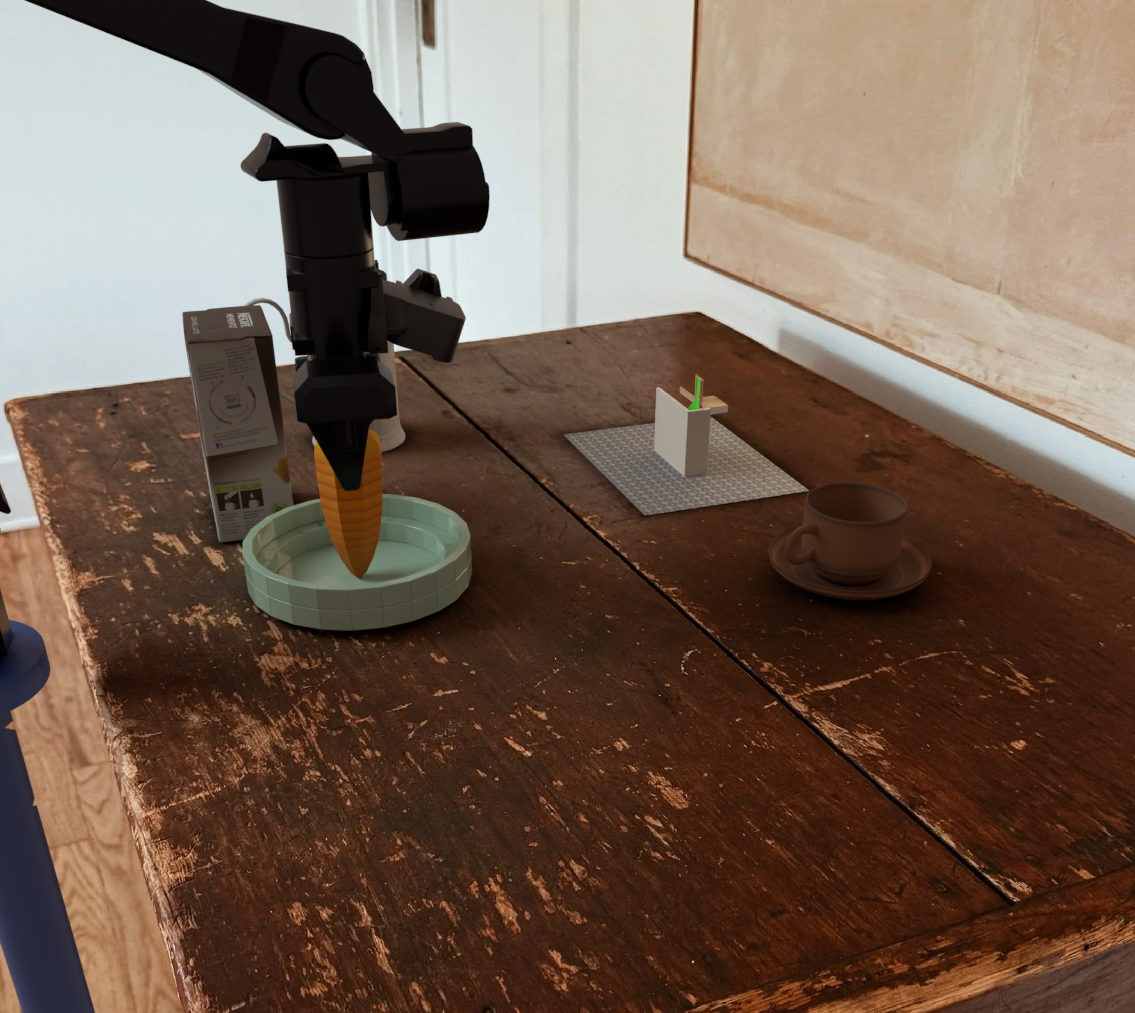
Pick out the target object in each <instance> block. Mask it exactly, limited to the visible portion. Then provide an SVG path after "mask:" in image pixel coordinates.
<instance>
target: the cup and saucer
mask: <svg viewBox="0 0 1135 1013" xmlns="http://www.w3.org/2000/svg"><path fill="white" fill-rule="evenodd" d="M908 509H909V505H908V502H907V501H906V499H905V498H904V497H903V496H901V495H900V494H899V493H897V492H895V491H893V490H891V489H888V488H885V487H883V486H879V485H875V484H871V483H864V482H855V481H853V482H851V481H849V482H848V481H847V482H844V481H843V482H841V481H840V482H832V483H826V484H821V485H819V486H816V487H814V488H812V489H811V490H809V491H808V493H807V494H806V496H805V501H804V512H803V521H802V524H799V525H795V526H792V527H790V528H787V529H785V530H783V531H781V532H780V533H778V534H776V536H774V537H773V538H772V539H771V541H770V543H769V544H768V557H769V561H770V563H771V565H772V567H773V568H774V570H775V571H776V572H777V573H778V574H779V575H780V576H781V577H783V578H784V580H786V581H787V582H789V583H791V584H792V585H794V586H796V587H797V588H800V589H802V590H804V591H806V592H809V593H812V594H815V595H819V596H822V597H827V598H832V599H837V600H844V601H845V600H846V601H877V600H882V599H889V598H893V597H897V596H900V595H902V594H905V593H907V592H910V591H911V590H913V589H915V588H916V587H918V586H919V585H921V584H922V583H924V581H925V580H926V579H927V578H928V576H929V574H930V572H931V568H932V567H933V566H932V565H933V560H932V558H931V555H930V553H929V551H928V550H927V549H926V548H925V547H924V546H923V545H922V544H921V543H920V542H918V541H916V540H915V539H913V538H911V537H910V536H908V535H906V534H904V531H905V527H906V522H907V514H908Z"/></svg>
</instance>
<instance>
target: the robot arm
mask: <svg viewBox="0 0 1135 1013" xmlns="http://www.w3.org/2000/svg"><path fill="white" fill-rule="evenodd" d="M24 2H27V3H30V4H32V5H35V6H38V7H40V8H42V9H45V10H48V11H49V12H52V13H55V14H58V15H60V16H62V17H65V18H67V19H70V20H73V21H75V22H78V23H80V24H83V25H86V26H88V27H91V28H93V29H96V30H98V31H101V32H103V33H106V34H107V35H111V36H113V37H115V38H118V39H120V40H123V41H126V42H128V43H131V44H133V45H136V46H139V47H141V48H143V49H146V50H149V51H151V52H154V53H156V54H158V55H161V56H164V57H166V58H169V59H171V60H174V61H176V62H178V63H181V64H184V65H186V66H189V67H191V68H194V69H196V70H198V71H199V72H200V73H202V74H204V75H206V76H207V77H209V78H210V79H212V80H213V81H215V82H217V83H218V84H220V85H221V86H222V87H224V88H226V89H228V90H229V91H231V93H232V92H233V94H235V95H237V96H239V97H240V98H242V99H243V100H244V101H246V102H248V103H249V104H251V105H253V106H255V107H256V108H258V109H260V110H261V111H262V112H265V114H268V115H270V116H271V117H273V118H274V119H276V120H277V121H280V122H282V123H283V124H284V125H285V124H286V125H287V126H290V127H292V128H294V129H297V130H299V131H301V132H303V133H305V134H307V135H310V136H312V137H314V138H317V139H321V140H327V141H334V140H342V141H344V142H347V143H348V144H351V145H354V146H356V147H358V148H361V149H363V150H366V151H368V152H370V153H371V154H365V155H356V156H355V155H354V156H338V154H337V152H336V151H335V149H334V148H333V147H332V145H330V144H329V143H327V142H321V143H307V144H294V145H284V144H283V143H282V141H281V140H280V139H279V138H278V137H276V136H275V135H272V134H270V133H268V132H263V133H261V136H260V138H259V140H258V143H257V145H256V146H255V148H254V149H252V150H251V151H250V152H249V154H248V155H246V157H245V158H244V159H243V160H242V161H241V162H240V170H241V171H242V172H243V173H244V174H247V175H248V176H250V177H251V178H253V179H255V180H257V181H258V182H261V183H262V182H264V183H265V182H274V181H275V182H276V190H277V198H278V205H279V206H278V207H279V217H280V225H281V234H282V244H283V254H284V262H285V276H286V284H287V286H286V287H287V292H288V299H289V308H290V313H289V315H288V316H289V319H288V320H289V328H290V334H291V340H292V343H291V347H292V348H291V349H292V351H294V356H295V358H294V368H295V369H294V370H295V373H294V374H293V375H292V378H293V380H292V381H293V394H294V400H295V404H296V406H295V414H296V422H299V423H301V424H305V425H307V427H308V429H309V431H310V432H311V434H312V437H313V436H314V438H315V439H316V441H317V443H318V444H319V446H320V448H321V450H322V452H323V453H324V455H325V457H326V459H327V460H328V462H329V464H330V466H331V468H332V469H333V471H334V473H335V475H336V477H337V478H338V480H339V482H340V484H341V486H342V488H343V489H344V490H345V491H354V490H359V489H360V484H361V478H362V471H363V464H364V457H365V451H366V444H367V438H368V432H369V426H370V424H371V423H372V422H373V421H374V420H377V419H390V418H392V417H394V416H397V403H396V388H395V383H394V380H393V376H392V372H391V370H390V369H389V368H388V367H387V366H386V365H384V364H383V363H382V362H381V359H380V355H379V353H388V341H389V342H391V343H393V344H394V346H399V347H400V348H401V347H402V348H404V349H408V350H410V351H414V352H418V353H421V354H425V355H428V356H431V357H432V359H433V360H434V361H437V362H440V363H444V364H451V363H452V362H454V361H453V360H454V357H455V355H456V351H457V348H458V345H459V342H460V338H461V335H462V332H463V329H464V325H465V322H466V319H467V316H466V314H465V313H464V310H463V308H462V307H461V305H460V304H459V303H458V302H456V301H454V299H453V297H451V296H446V297H444V296H442V288H441V283H440V279H439V277H438V275H437V274H435V273H433V272H430V271H426V270H424V269H421V268H416V269H415V270H414V271H413V272H412V273H411V274H410V275H409V276H408V277H407V278H406V279H405V281H404V282H402V281H400V280H397V279H396V280H395V282H393V281H390V280H388V279H387V280H383V278H382V273H381V271H380V272H379V269H380V268H379V267H380V265H379V261H378V259H375V248H374V233H373V221H372V220H373V219H374V222H375V223H376V224H377V225H378V226H379V227H383V228H384V227H386V228H387V230H388V233H389V234H390V235H391V236H392V238H393V239H394V240H395V241H396V242H402V241H403V242H405V241H413V240H423V239H431V238H440V237H441V238H442V237H450V236H451V237H452V236H460V235H469V234H478V233H479V234H480V232H481V231H483V229H484V227H485V226H486V224H487V221H488V217H489V213H490V212H489V211H490V199H491V198H490V197H491V196H490V185H489V183H488V182H487V181H486V177H485V176H486V174H485V172H484V168H483V163H482V161H481V158H480V155H479V153H478V151H477V150H476V148H475V146H474V136H473V128H472V126H470V125H469V124H466V123H463V122H459V121H451V122H450V121H449V122H442V123H439V124H436V125H433V126H428V127H427V126H426V127H414V128H413V127H412V128H401V126H400V125H399V124H398V122H397V120H395V118H394V117H393V116H392V115H391V113H390V111H389V110H388V109H387V108H386V106H385V105H384V104H383V102H382V101H381V99H380V98H379V96H378V95H377V94H376V93H375V91H374V81H373V80H374V79H373V74H372V73H373V72H372V70H371V68H370V65H369V62H368V61H367V58H366V54H365V53H364V51H363V50H362V48H360V46H359V45H358V44H357V43H355V42H354V41H352V40H350V39H349V38H348V37H346V36H344V35H343V34H339V33H336V32H333V31H328V30H323V29H320V28H316V27H312V26H308V25H304V24H300V23H296V22H295V23H294V22H290V21H286V20H281V19H277V18H273V17H269V16H264V15H260V14H256V13H250V12H246V11H241V10H237V9H232V8H228V7H223V6H221V5H219V4H217V3H214V2H212V1H209V0H24ZM372 217H373V218H372ZM365 352H369V353H365ZM0 513H3V514H6V515H9V514H11V513H12V509H11V507H10V504H9V502H8V499H7V497H6V494H5V491H4V490H3V486H2V484H1V483H0ZM1 530H2V529H0V534H1V532H2V531H1ZM6 608H7V607H6V605H5V600H4V597H3V593H2V588H0V667H1V664H2V661H3V658H4V657H5V656H6V655H7V654H8V651H9V648H10V645H11V642H12V639H13V634H12V630H11V626H10V622H9V620H10V619H9V615H8V611H7V609H6Z"/></svg>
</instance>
